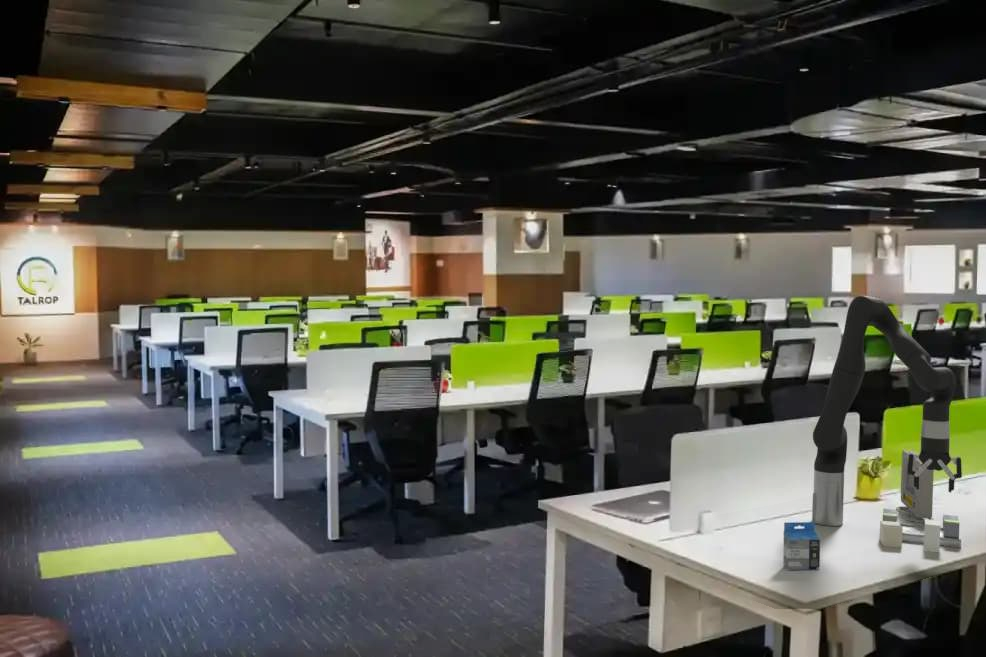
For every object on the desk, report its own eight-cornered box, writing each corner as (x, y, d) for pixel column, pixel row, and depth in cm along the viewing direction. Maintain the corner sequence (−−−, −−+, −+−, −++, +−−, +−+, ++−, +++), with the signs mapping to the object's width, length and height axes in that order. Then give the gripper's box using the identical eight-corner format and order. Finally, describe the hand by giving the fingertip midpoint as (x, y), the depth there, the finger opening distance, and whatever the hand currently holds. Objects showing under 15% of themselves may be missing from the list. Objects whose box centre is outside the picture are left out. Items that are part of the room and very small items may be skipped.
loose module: (923, 551, 263) (924, 524, 262) (923, 545, 268) (924, 519, 268) (939, 553, 261) (940, 525, 261) (938, 547, 267) (939, 521, 266)
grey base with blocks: (880, 538, 275) (880, 515, 275) (881, 528, 287) (881, 506, 287) (960, 547, 266) (961, 524, 266) (958, 536, 278) (959, 514, 278)
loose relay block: (883, 546, 267) (884, 525, 267) (879, 540, 274) (880, 520, 274) (901, 547, 266) (902, 527, 266) (897, 541, 273) (898, 521, 273)
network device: (939, 525, 291) (941, 464, 290) (910, 524, 293) (912, 463, 292) (918, 506, 316) (920, 450, 315) (892, 505, 318) (893, 449, 317)
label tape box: (788, 570, 243) (789, 525, 243) (782, 566, 247) (783, 521, 247) (819, 570, 244) (821, 525, 243) (813, 565, 248) (815, 521, 247)
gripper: (908, 435, 263) (907, 490, 263) (963, 439, 257) (961, 495, 258) (908, 431, 269) (906, 485, 270) (961, 435, 264) (960, 490, 264)
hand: (933, 490), depth 264 cm, fingers open, 8 cm apart
